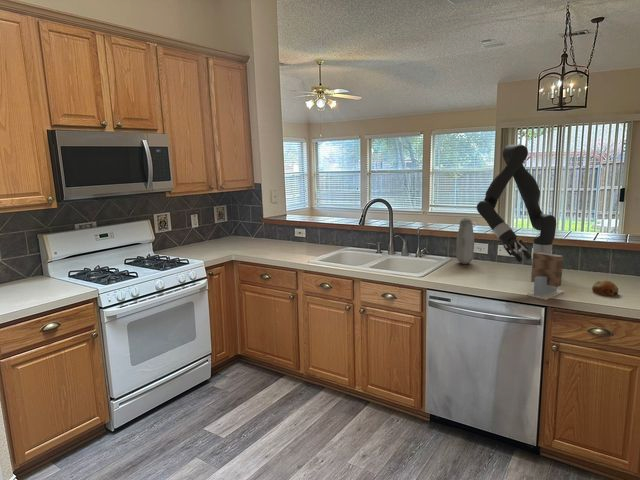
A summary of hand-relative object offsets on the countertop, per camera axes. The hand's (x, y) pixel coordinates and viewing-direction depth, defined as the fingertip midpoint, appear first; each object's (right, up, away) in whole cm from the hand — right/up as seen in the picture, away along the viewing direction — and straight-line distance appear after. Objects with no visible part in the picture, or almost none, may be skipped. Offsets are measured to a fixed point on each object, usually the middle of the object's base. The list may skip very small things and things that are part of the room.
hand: (525, 259), depth 206 cm
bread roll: (+34, -16, -6) cm, 38 cm away
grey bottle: (-10, -5, +57) cm, 58 cm away
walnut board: (+6, -11, -6) cm, 14 cm away
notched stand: (+6, -16, -6) cm, 18 cm away
